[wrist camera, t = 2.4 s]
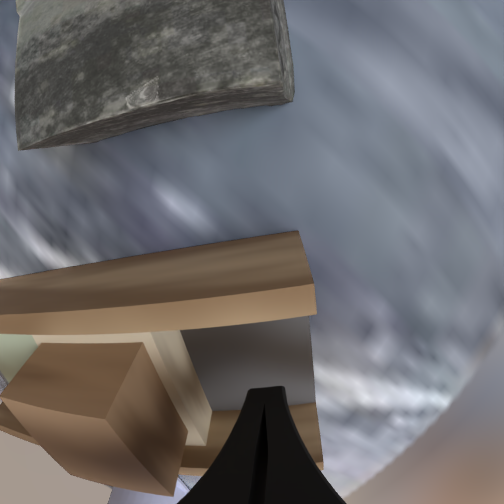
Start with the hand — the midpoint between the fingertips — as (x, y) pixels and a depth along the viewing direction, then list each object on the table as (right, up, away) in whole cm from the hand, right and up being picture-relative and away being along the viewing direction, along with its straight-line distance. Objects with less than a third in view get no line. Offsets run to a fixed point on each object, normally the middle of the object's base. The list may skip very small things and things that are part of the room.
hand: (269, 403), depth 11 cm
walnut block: (-7, -1, +2) cm, 8 cm away
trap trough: (-10, 0, +5) cm, 11 cm away
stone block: (-4, +18, -2) cm, 18 cm away
